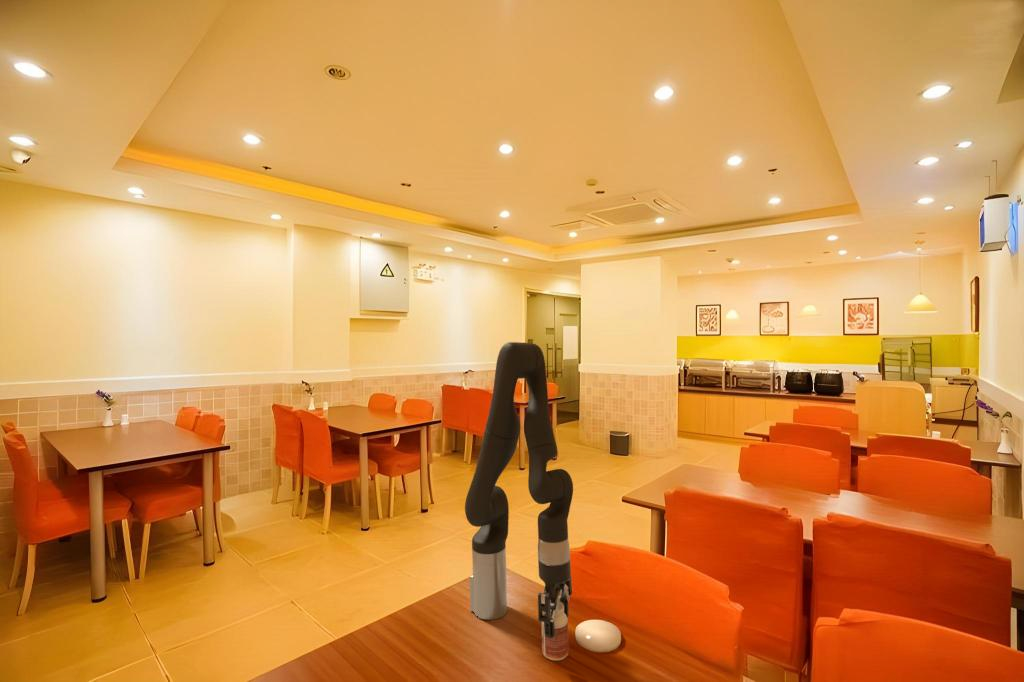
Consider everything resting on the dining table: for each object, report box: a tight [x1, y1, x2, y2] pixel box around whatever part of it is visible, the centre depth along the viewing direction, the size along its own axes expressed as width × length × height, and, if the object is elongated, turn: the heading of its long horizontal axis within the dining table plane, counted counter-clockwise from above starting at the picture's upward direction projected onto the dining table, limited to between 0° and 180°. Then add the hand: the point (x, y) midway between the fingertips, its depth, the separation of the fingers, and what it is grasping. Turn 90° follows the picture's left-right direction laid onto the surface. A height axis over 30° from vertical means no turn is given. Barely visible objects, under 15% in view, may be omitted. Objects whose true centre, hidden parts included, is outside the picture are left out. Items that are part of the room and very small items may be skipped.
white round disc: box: [574, 619, 622, 653], centre depth 114 cm, size 11×11×1 cm
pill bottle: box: [540, 601, 569, 662], centre depth 108 cm, size 6×6×11 cm
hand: (557, 626), depth 108 cm, fingers open, 8 cm apart
